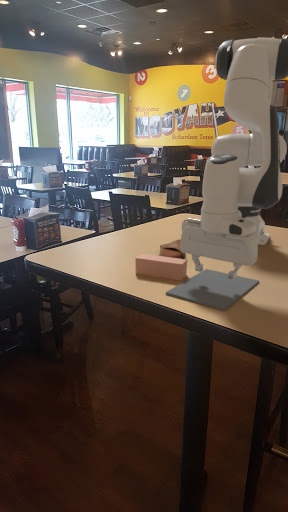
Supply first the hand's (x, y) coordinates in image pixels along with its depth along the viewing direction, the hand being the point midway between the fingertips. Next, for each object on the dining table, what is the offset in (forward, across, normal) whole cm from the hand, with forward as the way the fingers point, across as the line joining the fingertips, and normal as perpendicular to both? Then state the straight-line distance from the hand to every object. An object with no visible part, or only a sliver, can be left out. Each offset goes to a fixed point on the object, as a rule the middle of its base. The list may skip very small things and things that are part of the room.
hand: (215, 274), depth 98 cm
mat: (+4, 0, 0) cm, 4 cm away
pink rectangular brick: (+4, -17, 0) cm, 18 cm away
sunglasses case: (+4, -25, +15) cm, 29 cm away
